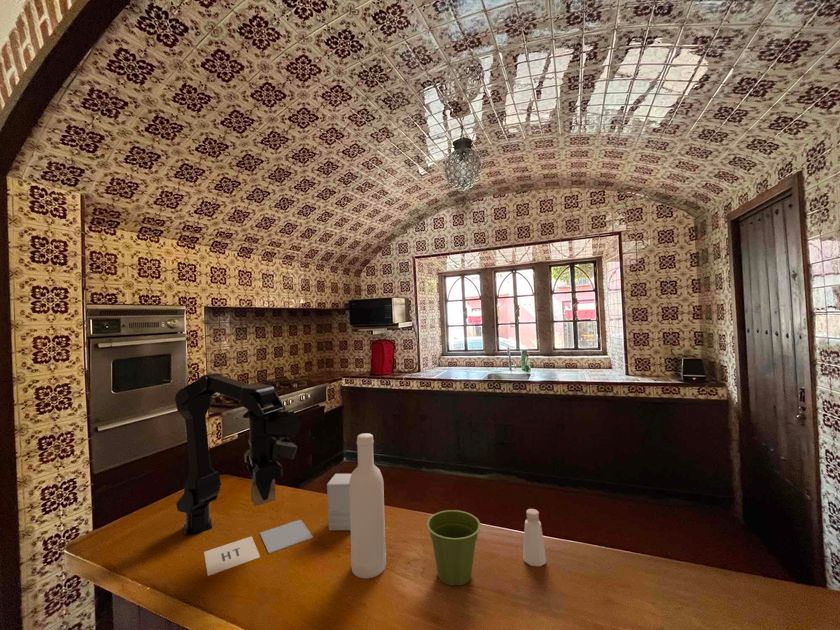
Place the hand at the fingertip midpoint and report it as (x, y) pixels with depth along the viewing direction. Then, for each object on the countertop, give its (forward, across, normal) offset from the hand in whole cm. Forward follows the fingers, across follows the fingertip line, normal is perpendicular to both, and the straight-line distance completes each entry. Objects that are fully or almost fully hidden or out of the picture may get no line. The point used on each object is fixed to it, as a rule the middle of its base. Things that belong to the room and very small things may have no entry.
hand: (263, 495), depth 94 cm
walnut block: (+1, 0, 0) cm, 1 cm away
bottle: (+13, -24, -18) cm, 33 cm away
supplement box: (+13, -3, -20) cm, 24 cm away
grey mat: (+12, 0, -5) cm, 13 cm away
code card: (+12, 0, +8) cm, 14 cm away
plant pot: (+13, -38, -32) cm, 51 cm away
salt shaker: (+13, -44, -50) cm, 68 cm away
